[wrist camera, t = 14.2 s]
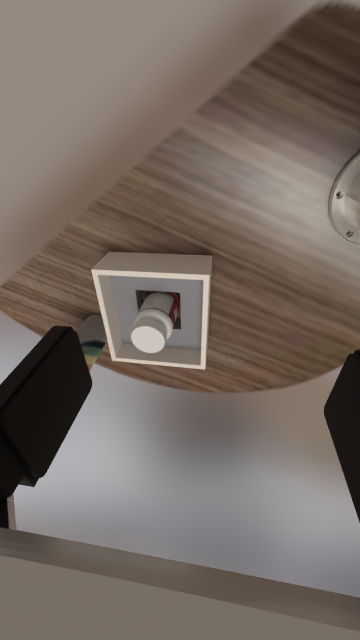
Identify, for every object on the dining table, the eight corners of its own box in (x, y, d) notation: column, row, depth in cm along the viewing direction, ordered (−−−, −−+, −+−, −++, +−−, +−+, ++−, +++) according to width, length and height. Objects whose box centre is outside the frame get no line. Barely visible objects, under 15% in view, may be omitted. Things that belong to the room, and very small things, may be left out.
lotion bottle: (92, 337, 56) (36, 420, 40) (81, 314, 53) (16, 395, 37) (116, 335, 55) (69, 421, 38) (107, 312, 52) (51, 395, 35)
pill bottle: (175, 318, 50) (163, 360, 41) (144, 309, 50) (124, 349, 41) (184, 291, 46) (172, 330, 37) (150, 281, 46) (130, 318, 37)
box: (212, 255, 42) (209, 275, 36) (207, 343, 52) (205, 369, 46) (109, 251, 44) (91, 269, 38) (124, 336, 54) (112, 360, 49)
